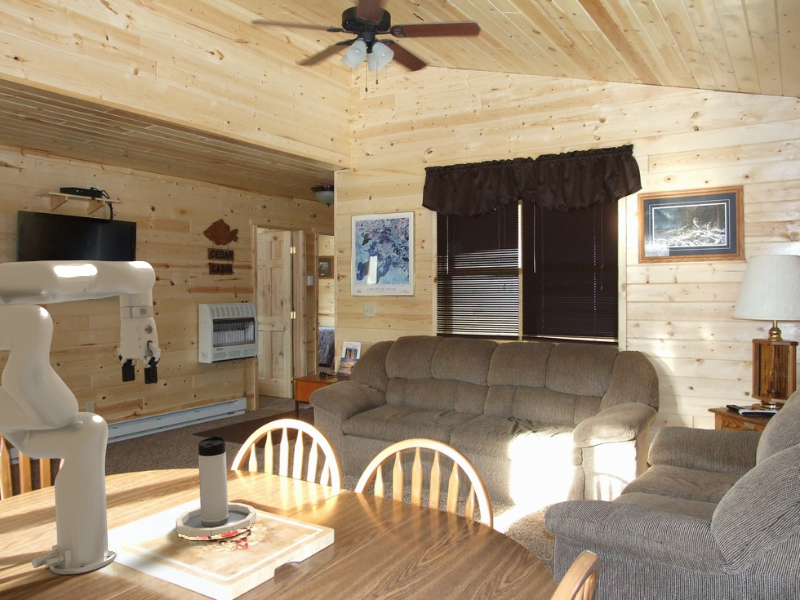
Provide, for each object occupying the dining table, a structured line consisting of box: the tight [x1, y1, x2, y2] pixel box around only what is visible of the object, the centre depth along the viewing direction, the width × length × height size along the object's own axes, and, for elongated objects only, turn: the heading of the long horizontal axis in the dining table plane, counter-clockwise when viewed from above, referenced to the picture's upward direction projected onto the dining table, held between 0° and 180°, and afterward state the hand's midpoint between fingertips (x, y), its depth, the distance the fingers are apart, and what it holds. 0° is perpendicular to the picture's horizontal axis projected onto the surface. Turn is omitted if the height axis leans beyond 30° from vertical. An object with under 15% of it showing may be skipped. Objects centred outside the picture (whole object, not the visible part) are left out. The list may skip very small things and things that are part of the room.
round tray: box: [175, 502, 257, 537], centre depth 151 cm, size 18×18×2 cm
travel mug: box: [197, 435, 229, 527], centre depth 151 cm, size 6×7×20 cm
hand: (139, 382), depth 157 cm, fingers open, 9 cm apart
